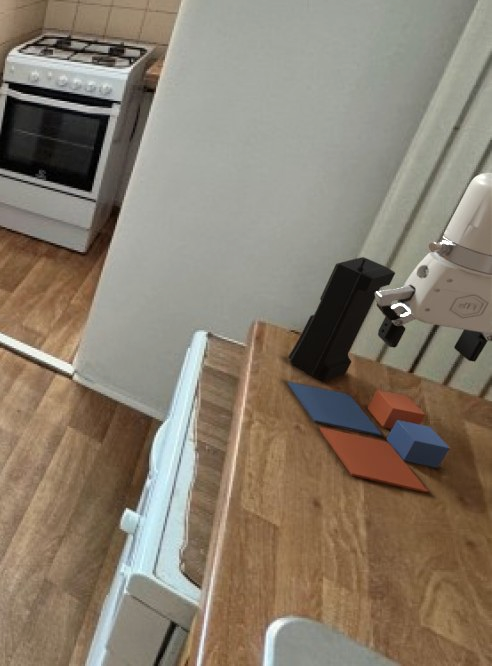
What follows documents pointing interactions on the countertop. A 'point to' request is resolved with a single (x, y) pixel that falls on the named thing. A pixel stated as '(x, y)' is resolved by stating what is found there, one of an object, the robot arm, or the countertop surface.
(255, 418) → the countertop surface
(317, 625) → the countertop surface
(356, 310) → the tall black tower box
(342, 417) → the slate mat
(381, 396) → the terracotta block
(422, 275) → the robot arm
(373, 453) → the terracotta mat
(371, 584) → the countertop surface
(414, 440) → the slate block
